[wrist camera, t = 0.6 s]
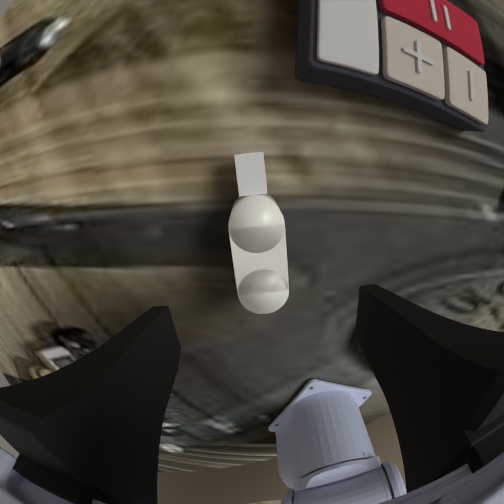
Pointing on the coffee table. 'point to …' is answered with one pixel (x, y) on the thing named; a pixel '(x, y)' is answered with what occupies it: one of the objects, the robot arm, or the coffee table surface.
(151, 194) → the coffee table surface
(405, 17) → the calculator
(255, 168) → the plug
